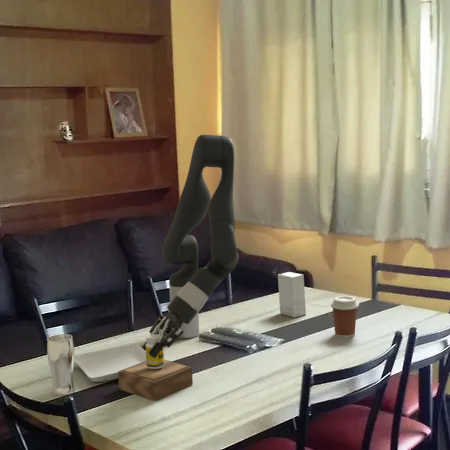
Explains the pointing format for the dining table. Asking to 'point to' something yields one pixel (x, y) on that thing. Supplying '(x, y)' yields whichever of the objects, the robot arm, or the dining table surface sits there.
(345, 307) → the coffee cup
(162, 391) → the pedestal
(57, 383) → the beer glass
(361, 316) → the dining table surface
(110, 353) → the salad plate
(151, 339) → the supplement bottle
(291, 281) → the skincare box
